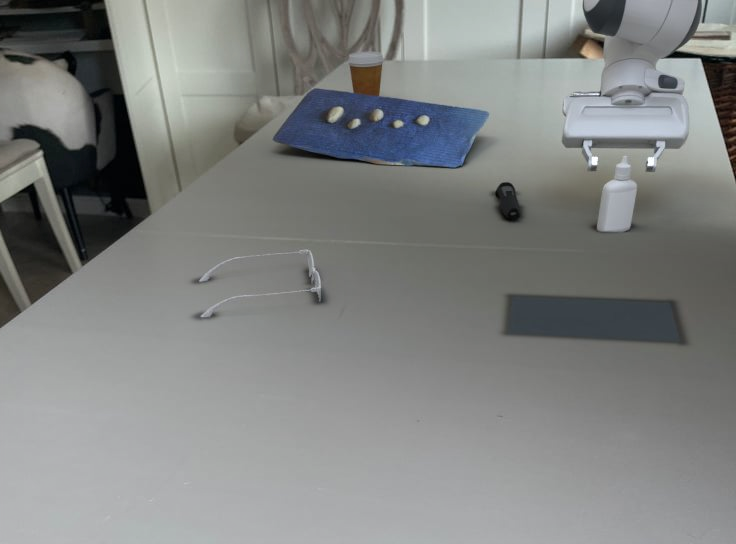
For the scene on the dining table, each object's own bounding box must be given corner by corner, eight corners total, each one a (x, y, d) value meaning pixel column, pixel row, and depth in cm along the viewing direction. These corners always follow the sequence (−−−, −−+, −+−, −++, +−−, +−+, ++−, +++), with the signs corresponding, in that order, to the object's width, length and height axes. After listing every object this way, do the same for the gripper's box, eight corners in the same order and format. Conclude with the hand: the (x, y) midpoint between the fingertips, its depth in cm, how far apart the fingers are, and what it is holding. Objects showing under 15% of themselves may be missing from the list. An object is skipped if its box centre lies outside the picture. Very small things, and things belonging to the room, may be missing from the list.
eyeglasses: (324, 310, 118) (322, 284, 116) (200, 323, 116) (195, 297, 114) (311, 270, 130) (309, 245, 127) (198, 281, 128) (194, 257, 126)
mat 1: (492, 145, 190) (495, 96, 181) (459, 213, 176) (461, 165, 167) (317, 122, 202) (311, 76, 193) (273, 185, 188) (265, 138, 179)
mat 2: (669, 306, 114) (670, 302, 114) (679, 345, 105) (680, 341, 105) (511, 300, 118) (512, 296, 118) (508, 337, 109) (508, 333, 108)
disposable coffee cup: (347, 102, 221) (345, 52, 213) (382, 99, 221) (381, 50, 214) (351, 110, 213) (349, 59, 206) (386, 107, 214) (386, 56, 207)
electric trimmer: (501, 225, 143) (502, 207, 141) (494, 195, 155) (495, 178, 153) (522, 224, 143) (524, 206, 140) (514, 195, 154) (515, 178, 152)
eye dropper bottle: (631, 235, 136) (644, 160, 128) (596, 234, 137) (607, 160, 129) (629, 226, 139) (642, 152, 132) (595, 225, 140) (606, 152, 133)
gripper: (565, 80, 134) (558, 159, 133) (694, 79, 131) (689, 160, 130) (562, 103, 141) (555, 178, 139) (685, 103, 137) (680, 180, 136)
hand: (621, 170), depth 134 cm, fingers open, 8 cm apart
